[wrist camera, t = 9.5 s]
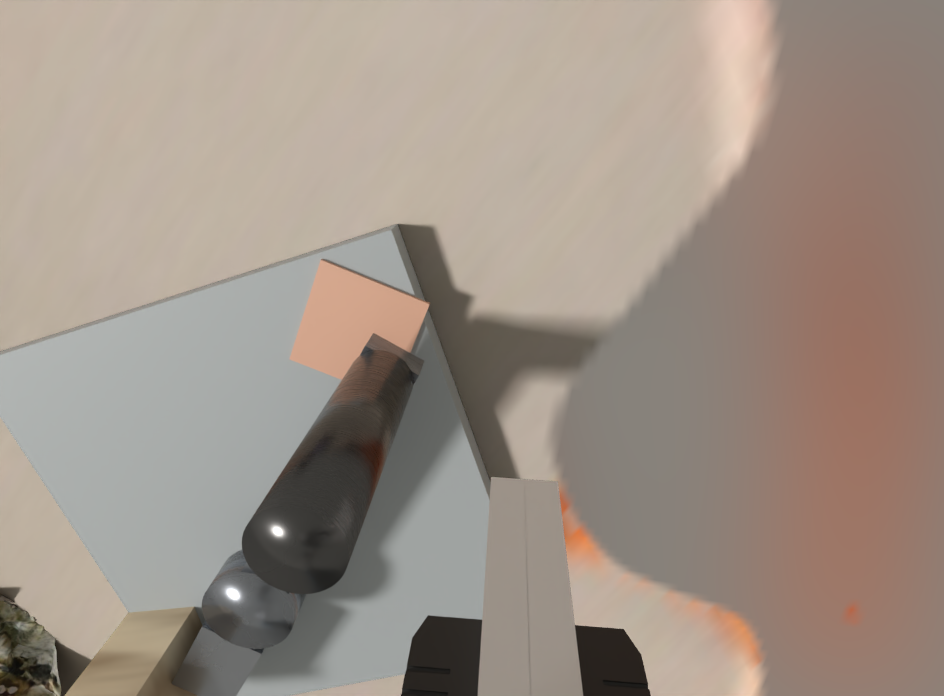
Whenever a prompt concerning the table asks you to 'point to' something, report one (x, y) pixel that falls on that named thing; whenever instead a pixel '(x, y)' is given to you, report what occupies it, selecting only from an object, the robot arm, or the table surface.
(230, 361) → the board
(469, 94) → the table surface
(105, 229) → the table surface
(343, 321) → the plate
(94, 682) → the beech block
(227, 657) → the lever
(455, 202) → the table surface
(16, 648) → the rock
